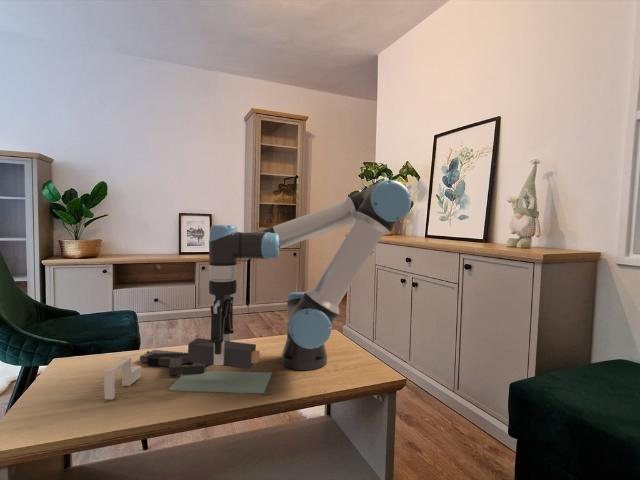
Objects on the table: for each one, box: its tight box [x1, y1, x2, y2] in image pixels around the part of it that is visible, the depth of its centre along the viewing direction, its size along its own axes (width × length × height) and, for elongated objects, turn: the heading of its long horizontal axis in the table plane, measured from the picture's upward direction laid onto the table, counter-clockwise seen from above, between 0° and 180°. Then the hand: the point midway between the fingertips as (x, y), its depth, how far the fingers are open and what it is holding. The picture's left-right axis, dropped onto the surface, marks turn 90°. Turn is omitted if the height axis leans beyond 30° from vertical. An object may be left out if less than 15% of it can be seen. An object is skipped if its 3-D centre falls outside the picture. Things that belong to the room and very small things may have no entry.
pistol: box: [139, 349, 209, 376], centre depth 114 cm, size 2×26×15 cm
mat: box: [168, 370, 273, 394], centre depth 103 cm, size 26×12×1 cm, turn 88°
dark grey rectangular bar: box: [187, 337, 261, 370], centre depth 103 cm, size 20×5×5 cm, turn 82°
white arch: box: [103, 357, 142, 400], centre depth 99 cm, size 2×14×7 cm, turn 178°
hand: (222, 360), depth 103 cm, fingers closed on dark grey rectangular bar, 5 cm apart
